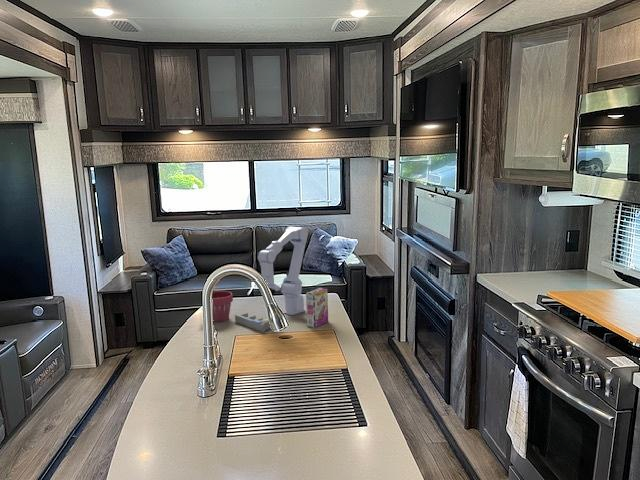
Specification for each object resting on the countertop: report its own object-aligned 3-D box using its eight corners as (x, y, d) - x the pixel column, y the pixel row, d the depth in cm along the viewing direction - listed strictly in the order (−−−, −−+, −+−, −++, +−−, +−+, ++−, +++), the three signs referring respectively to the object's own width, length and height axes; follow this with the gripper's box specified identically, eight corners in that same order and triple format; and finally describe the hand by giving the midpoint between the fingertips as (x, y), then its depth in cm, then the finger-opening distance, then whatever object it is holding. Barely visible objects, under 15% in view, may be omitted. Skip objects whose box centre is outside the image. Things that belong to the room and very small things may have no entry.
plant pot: (238, 315, 242) (236, 290, 240) (227, 324, 229) (225, 298, 227) (212, 314, 246) (210, 290, 243) (200, 323, 232) (197, 298, 230)
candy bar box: (315, 328, 218) (313, 294, 215) (306, 326, 221) (305, 292, 218) (329, 321, 227) (327, 288, 224) (320, 319, 230) (319, 287, 227)
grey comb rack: (245, 318, 236) (244, 310, 235) (273, 328, 220) (272, 320, 220) (235, 321, 232) (234, 313, 231) (262, 332, 216) (262, 323, 215)
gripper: (251, 274, 227) (253, 302, 230) (270, 279, 217) (272, 307, 219) (263, 271, 232) (264, 298, 234) (282, 276, 222) (284, 303, 224)
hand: (269, 302), depth 227 cm, fingers closed
